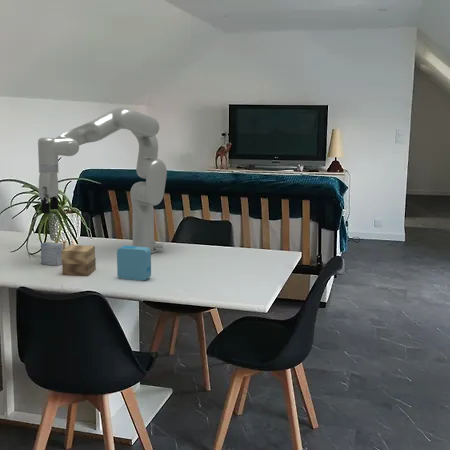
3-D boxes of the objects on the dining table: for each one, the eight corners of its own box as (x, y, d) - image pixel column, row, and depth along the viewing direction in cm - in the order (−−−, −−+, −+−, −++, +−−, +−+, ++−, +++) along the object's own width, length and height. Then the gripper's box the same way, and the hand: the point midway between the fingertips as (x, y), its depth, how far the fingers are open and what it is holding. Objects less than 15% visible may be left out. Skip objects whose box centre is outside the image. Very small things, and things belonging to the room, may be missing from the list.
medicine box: (63, 263, 245) (63, 243, 244) (57, 266, 241) (56, 245, 239) (47, 262, 248) (46, 241, 246) (41, 264, 243) (40, 243, 242)
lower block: (95, 270, 237) (95, 258, 236) (88, 277, 227) (87, 264, 226) (71, 269, 238) (70, 257, 237) (62, 276, 228) (62, 263, 227)
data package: (151, 278, 226) (151, 247, 223) (146, 281, 221) (146, 249, 219) (122, 275, 229) (121, 245, 226) (117, 278, 224) (116, 247, 222)
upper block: (95, 258, 236) (94, 245, 235) (87, 264, 226) (87, 251, 225) (70, 257, 237) (70, 245, 236) (61, 263, 227) (61, 250, 226)
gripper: (47, 167, 246) (48, 207, 249) (31, 170, 229) (32, 214, 232) (65, 167, 245) (66, 208, 248) (50, 171, 228) (51, 215, 231)
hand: (50, 211), depth 240 cm, fingers open, 9 cm apart
